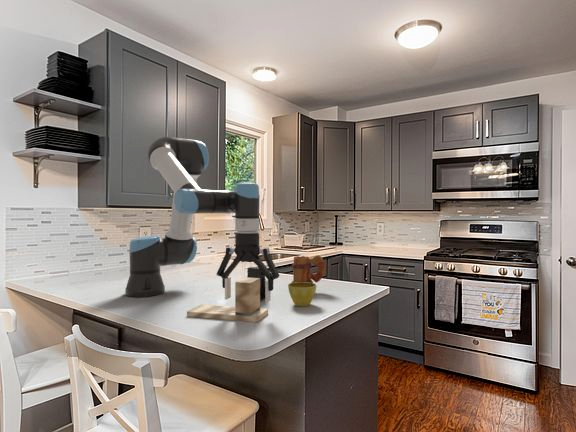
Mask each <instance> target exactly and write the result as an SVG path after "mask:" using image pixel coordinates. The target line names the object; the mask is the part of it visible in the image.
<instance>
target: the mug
mask: <svg viewBox="0 0 576 432" xmlns="http://www.w3.org/2000/svg"><path fill="white" fill-rule="evenodd" d="M312 264H313V265H315V266H316V267H318V268H317V272H316V274H314V273H311V268H312V267H313V265H312ZM291 268H292V269H293V270H292V271H293V274H292V276H293V277H292V278H293V280H292V281H291V282H290V283H294V282H308V283H314V282H315V283H318V282H320V281H321V280H322V279H323V277H324V275H325V272H326V263H325V260H324V258H323V257H322V256H321V255H318V254H317V255H314V256H313V257H312V258H310V257H309V256H305V255H303V256H301V255H300V256H294V257H293V263H292V264H291Z"/></svg>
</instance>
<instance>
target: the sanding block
mask: <svg viewBox="0 0 576 432" xmlns="http://www.w3.org/2000/svg"><path fill="white" fill-rule="evenodd" d="M234 285H235V287H234V288H235V289H234V290H235V291H234V293H235V294H234V295H235V297H234V298H235V299H234V307H235V315H244V316H251V315H253V314H254V313H255V312H257V311H258V310H259V309H261V301H260V278H247V277H243V278H242V279H239V280H236V281H235V283H234Z"/></svg>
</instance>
